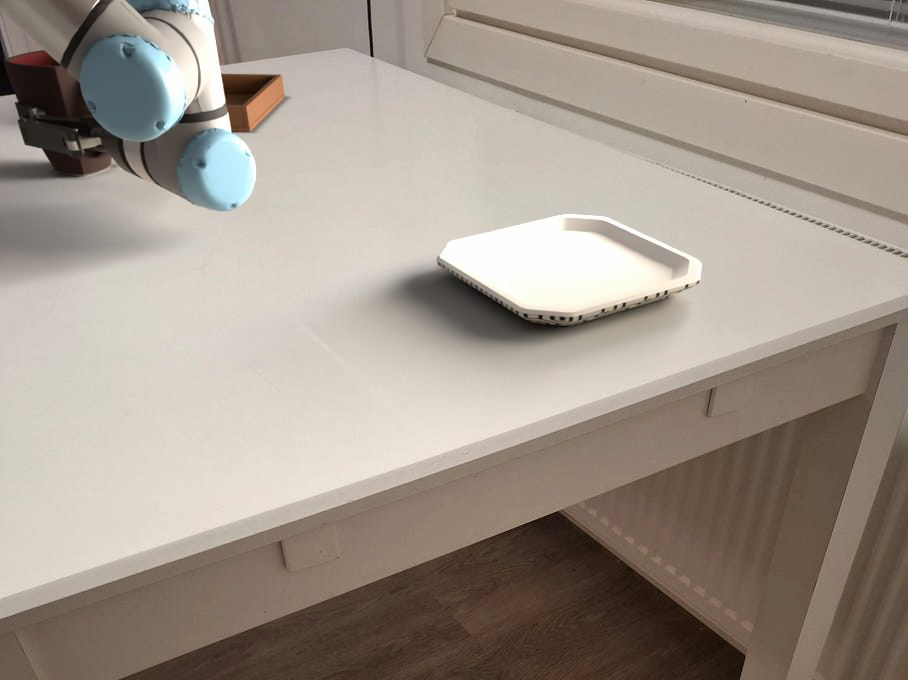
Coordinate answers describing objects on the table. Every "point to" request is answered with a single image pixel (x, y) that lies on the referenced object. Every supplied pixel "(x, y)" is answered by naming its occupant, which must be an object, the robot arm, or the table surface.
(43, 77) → the cup
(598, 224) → the plate
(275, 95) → the tray
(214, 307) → the table surface
